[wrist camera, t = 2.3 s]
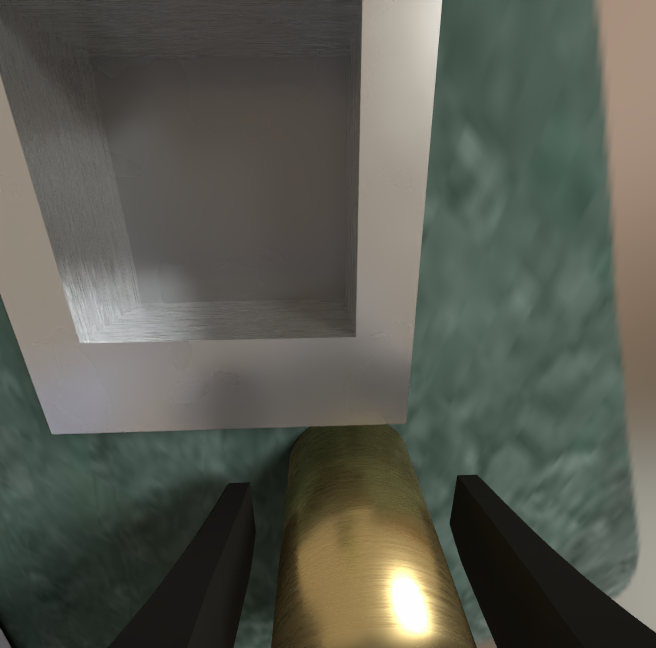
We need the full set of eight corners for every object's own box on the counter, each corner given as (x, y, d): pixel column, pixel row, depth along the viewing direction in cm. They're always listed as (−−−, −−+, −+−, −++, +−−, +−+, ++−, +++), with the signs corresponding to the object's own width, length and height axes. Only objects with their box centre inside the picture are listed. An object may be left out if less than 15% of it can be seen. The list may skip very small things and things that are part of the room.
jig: (382, 363, 11) (406, 423, 8) (121, 369, 11) (52, 434, 8) (404, -68, 7) (461, -234, 4) (9, -71, 7) (-198, -249, 4)
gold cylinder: (404, 506, 13) (470, 743, 7) (292, 509, 13) (274, 754, 7) (412, 412, 12) (504, 622, 6) (286, 416, 11) (257, 633, 6)
